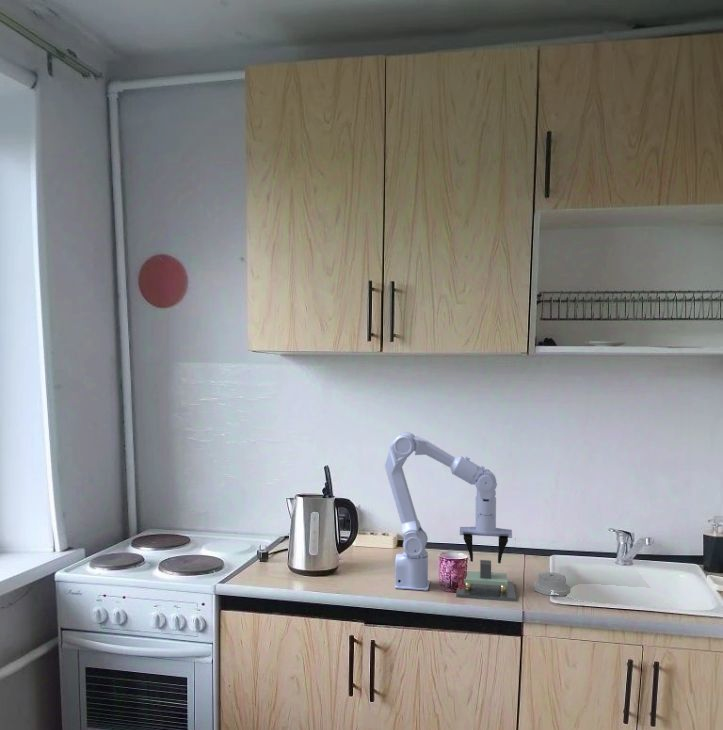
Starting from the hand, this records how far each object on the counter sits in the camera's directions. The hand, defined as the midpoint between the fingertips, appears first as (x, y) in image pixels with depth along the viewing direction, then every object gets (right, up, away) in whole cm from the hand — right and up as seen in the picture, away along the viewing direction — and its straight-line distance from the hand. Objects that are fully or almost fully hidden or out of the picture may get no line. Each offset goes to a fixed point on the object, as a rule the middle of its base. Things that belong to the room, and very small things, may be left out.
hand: (485, 561), depth 175 cm
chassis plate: (0, -8, 0) cm, 8 cm away
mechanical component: (+19, -9, +1) cm, 21 cm away
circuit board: (0, -5, +1) cm, 5 cm away
